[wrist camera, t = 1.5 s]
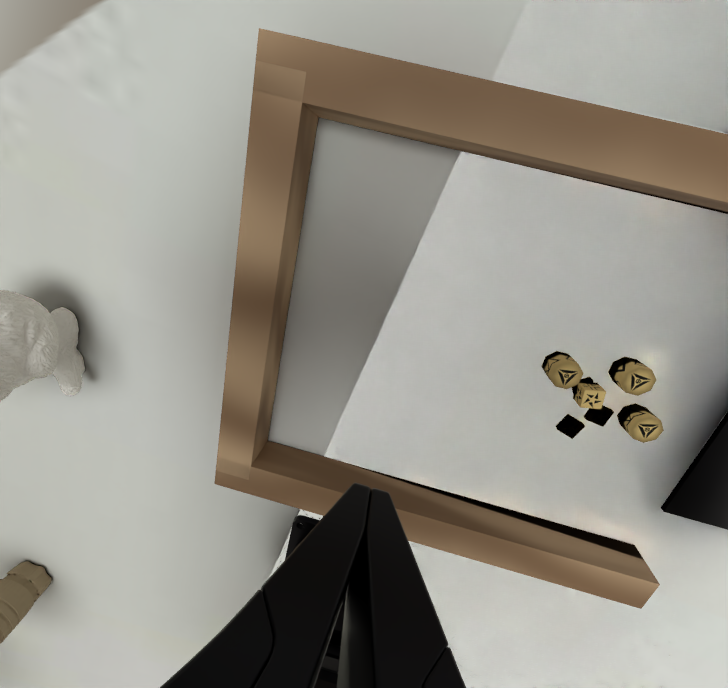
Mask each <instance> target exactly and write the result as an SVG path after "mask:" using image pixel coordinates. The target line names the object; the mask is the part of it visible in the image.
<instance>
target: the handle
mask: <svg viewBox="0 0 728 688" xmlns="http://www.w3.org/2000/svg"><path fill="white" fill-rule="evenodd" d="M7 574H8V575H7V576H6V577H5V578H4V579H0V643H2V642H3V641H4V639H5V638H6V637H7V636H8V634H10V633H11V632H12V630H13V629H14V628H15V627H16V625H18V624H19V622H20V621H21V620H22V619H23V618H24V616H25V615H26V614H27V613H28V611H29V610H30V609H31V607H32V606H33V604H34V602H35V601H36V600H37V599H38V598H39V597H40V595H41V594H42V593H43V592H44V591H45V590H46V589H47V587H48V586H49V585H50V583H51V577H50V576H48V575H47V573H46V572H45V569H44V568H43V567H42V566H36V565H33V564H32V563H30V562H22V563H20V564H19V565H17V566H16V567H14V568H13V569H12V570H11V571H9V572H8V573H7Z"/></svg>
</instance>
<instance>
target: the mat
mask: <svg viewBox="0 0 728 688" xmlns="http://www.w3.org/2000/svg"><path fill="white" fill-rule="evenodd" d="M661 509H662V510H663V512H666V513H670V514H674V515H677V516H681V517H684V518H688V519H692V520H695V521H699V522H702V523H706V524H709V525H713V526H717V527H720V528H724V529H727V530H728V411H727V413H726V414H725V416H724V417H723V418H722V420H721V421H720V423H719V424H718V426H717V427H716V429H715V430H714V431H713V433H712V434H711V436H710V437H709V439H708V440H707V441H706V443H705V444H704V446H703V447H702V449H701V450H700V452H699V453H698V454H697V456H696V457H695V459H694V460H693V462H692V463H691V464H690V466H689V467H688V469H687V470H686V472H685V473H684V475H683V476H682V477H681V479H680V480H679V482H678V483H677V485H676V486H675V487H674V489H673V490H672V492H671V493H670V495H669V496H668V498H667V499H666V500H665V502H664V503H663V505H662V506H661Z"/></svg>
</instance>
